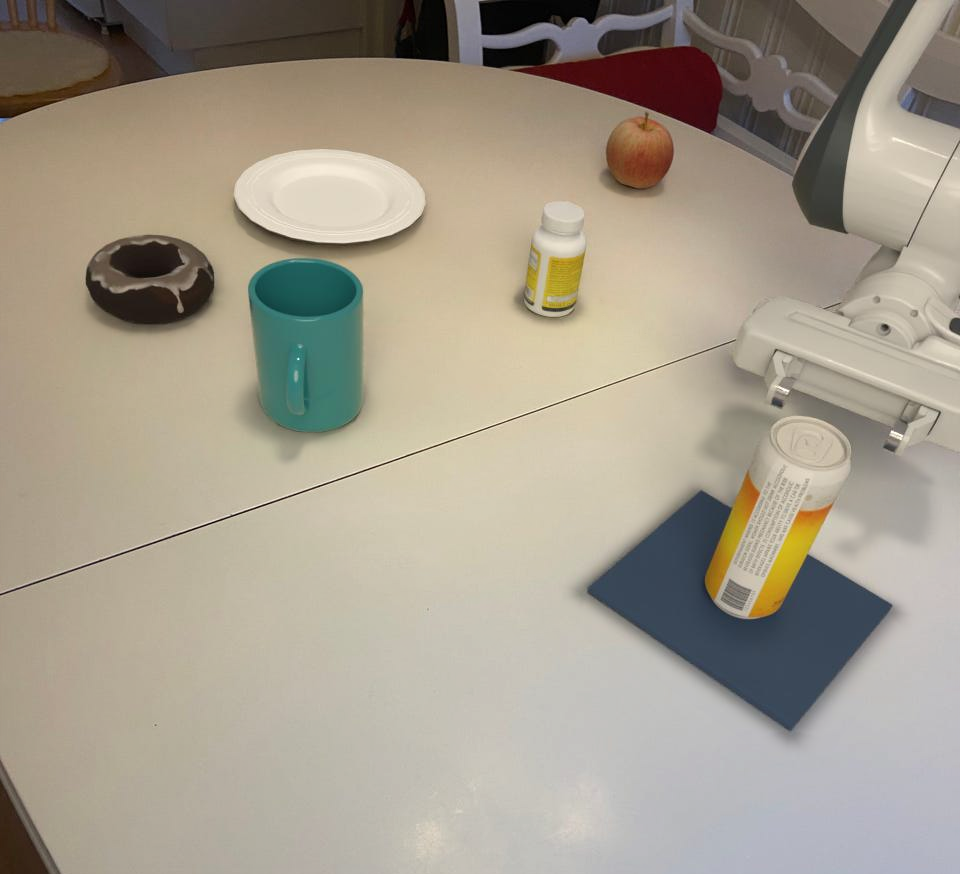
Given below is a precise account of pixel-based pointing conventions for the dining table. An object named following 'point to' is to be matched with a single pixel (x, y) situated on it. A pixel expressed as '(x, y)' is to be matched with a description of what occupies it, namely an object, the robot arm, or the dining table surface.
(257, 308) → the cup
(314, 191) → the plate
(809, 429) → the beer can
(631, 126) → the apple
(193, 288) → the donut
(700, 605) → the can mat
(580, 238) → the supplement bottle
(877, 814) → the dining table surface
